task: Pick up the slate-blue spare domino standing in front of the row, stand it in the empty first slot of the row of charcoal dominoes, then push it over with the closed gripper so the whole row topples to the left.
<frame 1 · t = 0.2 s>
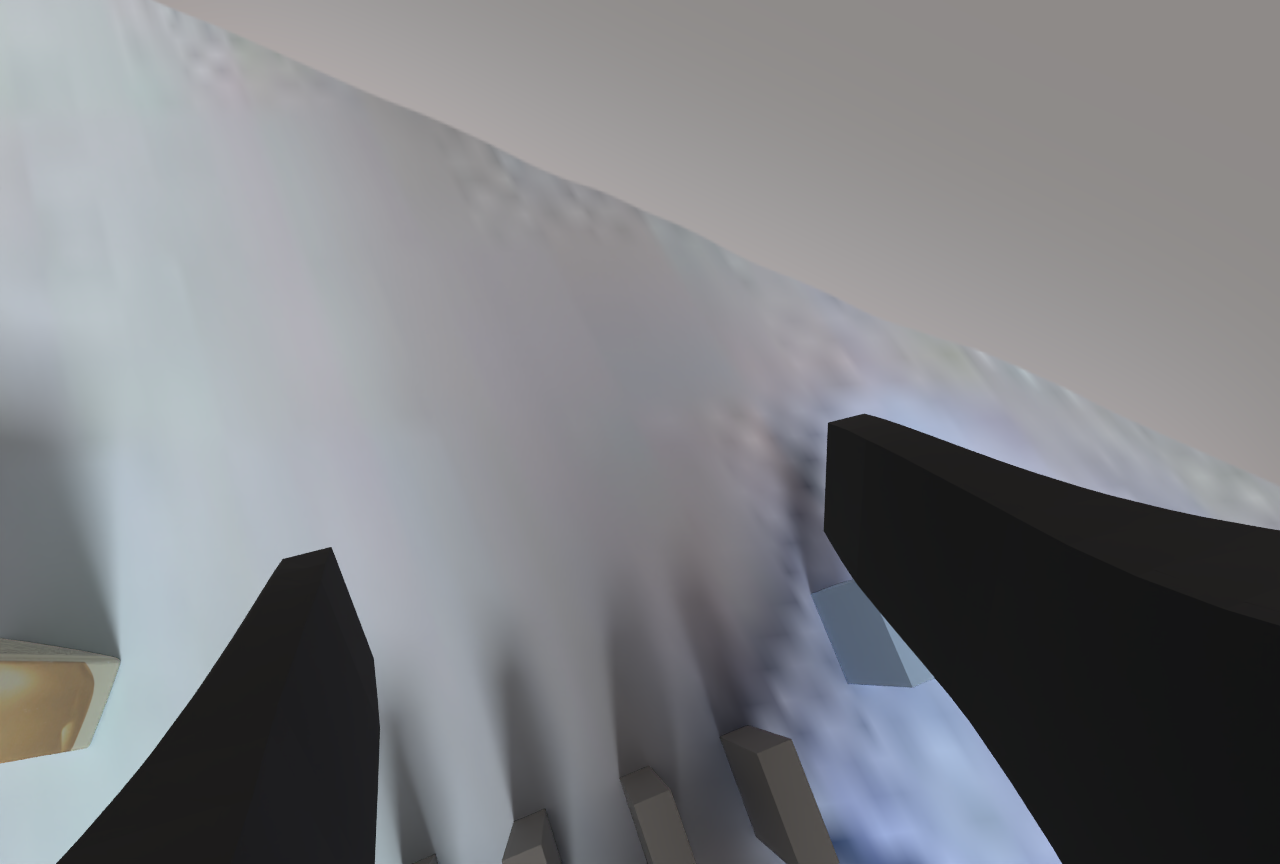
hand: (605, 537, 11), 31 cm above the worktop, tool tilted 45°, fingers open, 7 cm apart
spare domino: (842, 633, 42), on the worktop
skincare box: (49, 692, 38), on the worktop
domino 2: (751, 779, 39), on the worktop
domino 3: (651, 822, 38), on the worktop
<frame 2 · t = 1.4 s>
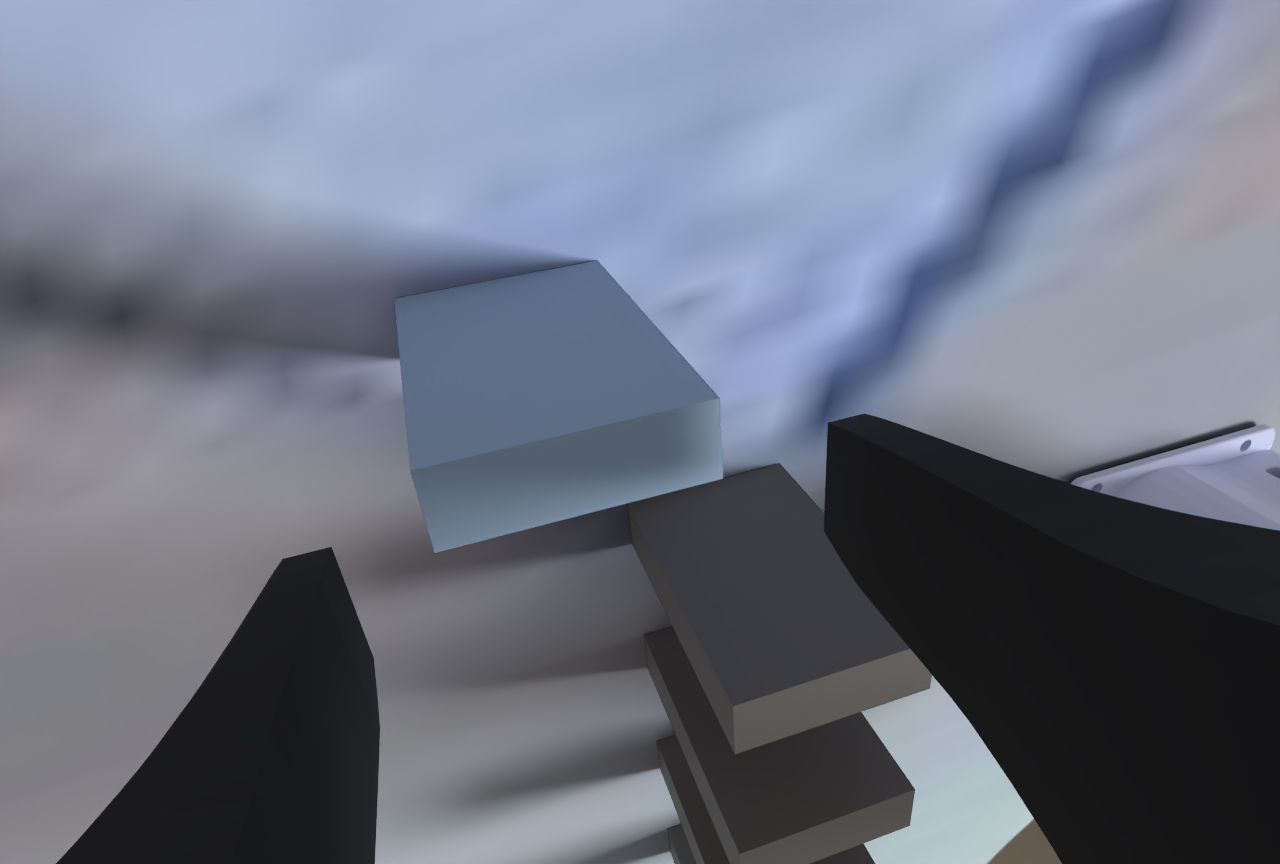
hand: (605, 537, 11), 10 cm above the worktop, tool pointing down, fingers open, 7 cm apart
spare domino: (504, 309, 19), on the worktop
domino 2: (706, 503, 24), on the worktop
domino 3: (713, 631, 27), on the worktop
domino 4: (719, 734, 30), on the worktop
domino 5: (724, 820, 32), on the worktop
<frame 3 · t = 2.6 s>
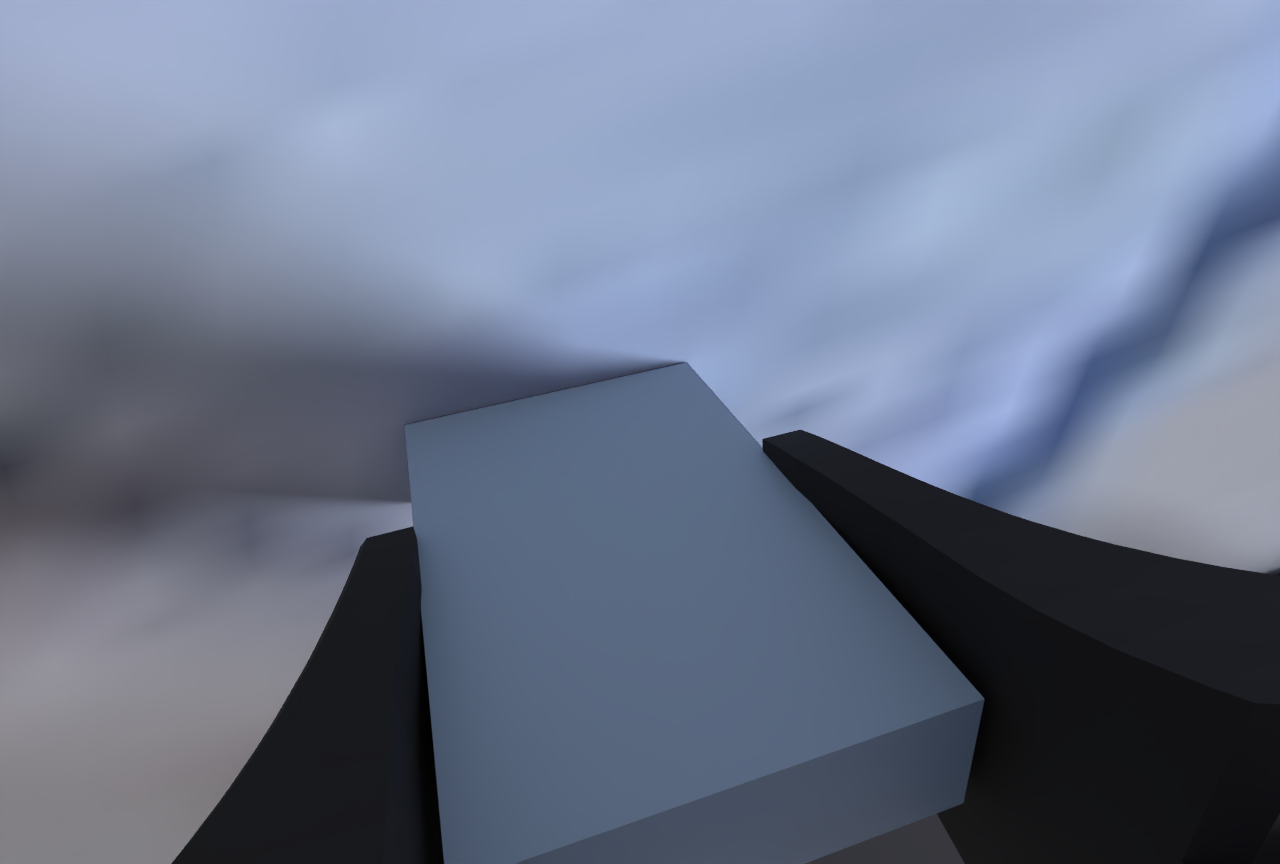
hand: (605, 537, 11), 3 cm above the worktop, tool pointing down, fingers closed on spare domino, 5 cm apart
spare domino: (557, 432, 14), on the worktop, touching gripper
domino 2: (804, 650, 19), on the worktop
when the fingers open (4 cm above the worktop, at t = 5.7 s): spare domino stays where it is, on the worktop.
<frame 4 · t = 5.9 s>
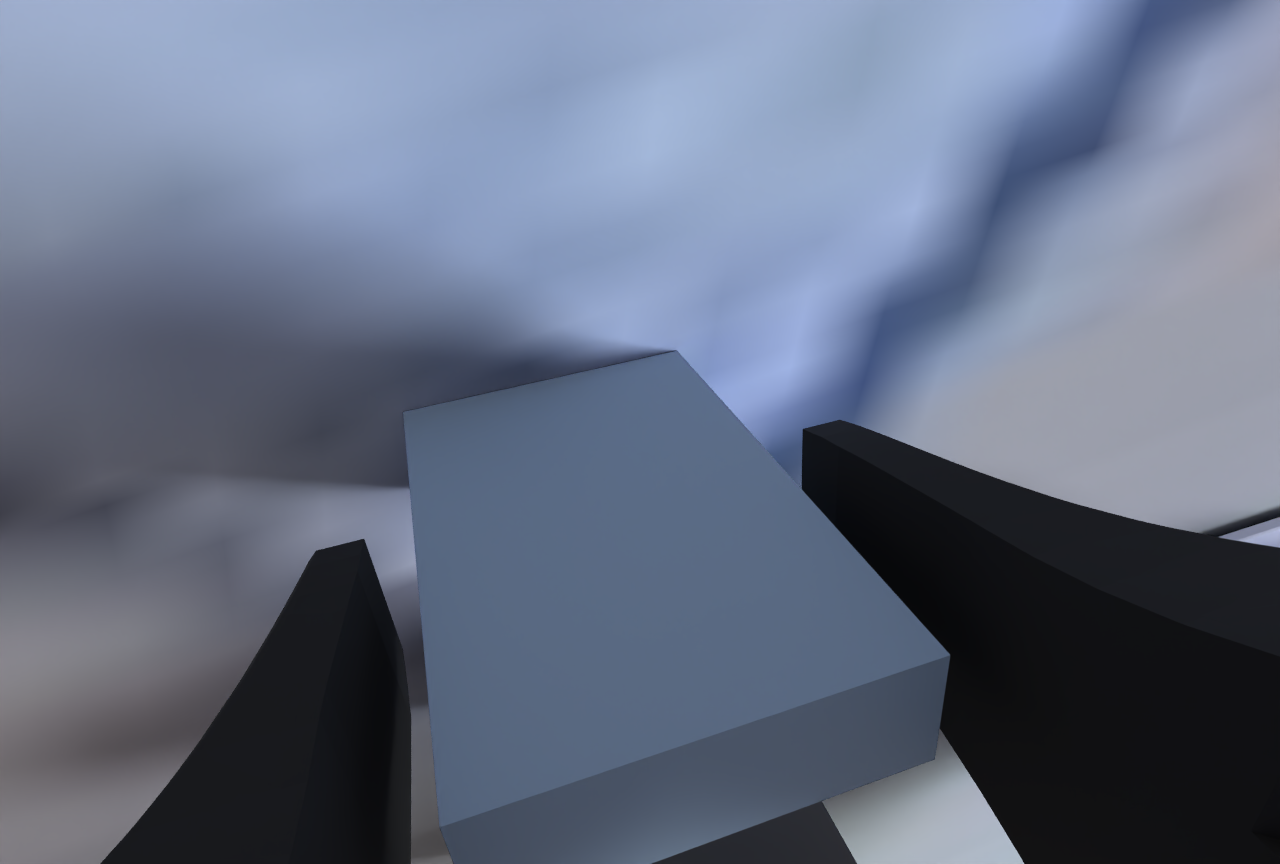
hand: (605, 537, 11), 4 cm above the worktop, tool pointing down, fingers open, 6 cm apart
spare domino: (552, 418, 14), on the worktop
domino 2: (589, 634, 17), on the worktop
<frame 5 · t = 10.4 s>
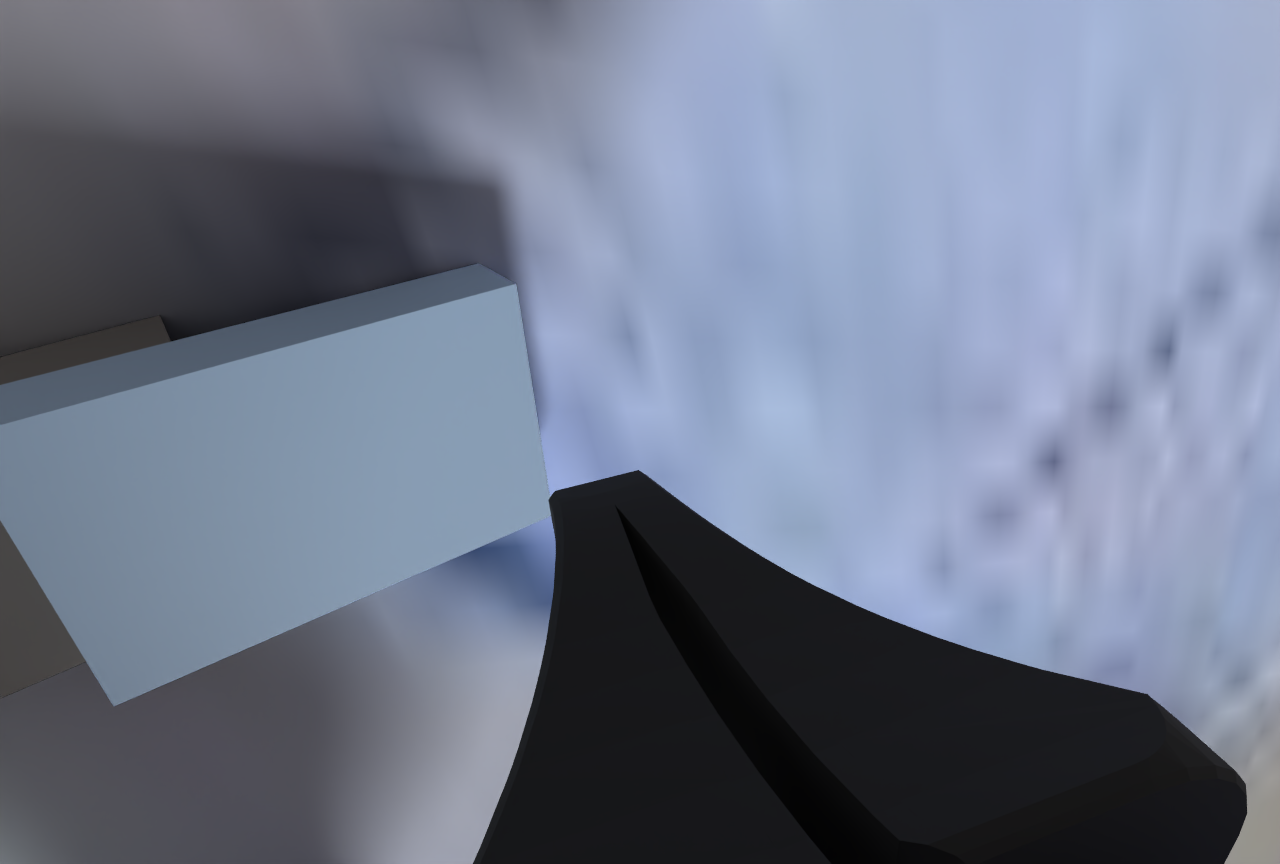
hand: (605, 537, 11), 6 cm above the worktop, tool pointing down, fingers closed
spare domino: (517, 394, 15), point 1 cm above the worktop, tilted 73°, touching domino 2
domino 2: (220, 454, 14), point 1 cm above the worktop, tilted 73°, touching domino 3, spare domino
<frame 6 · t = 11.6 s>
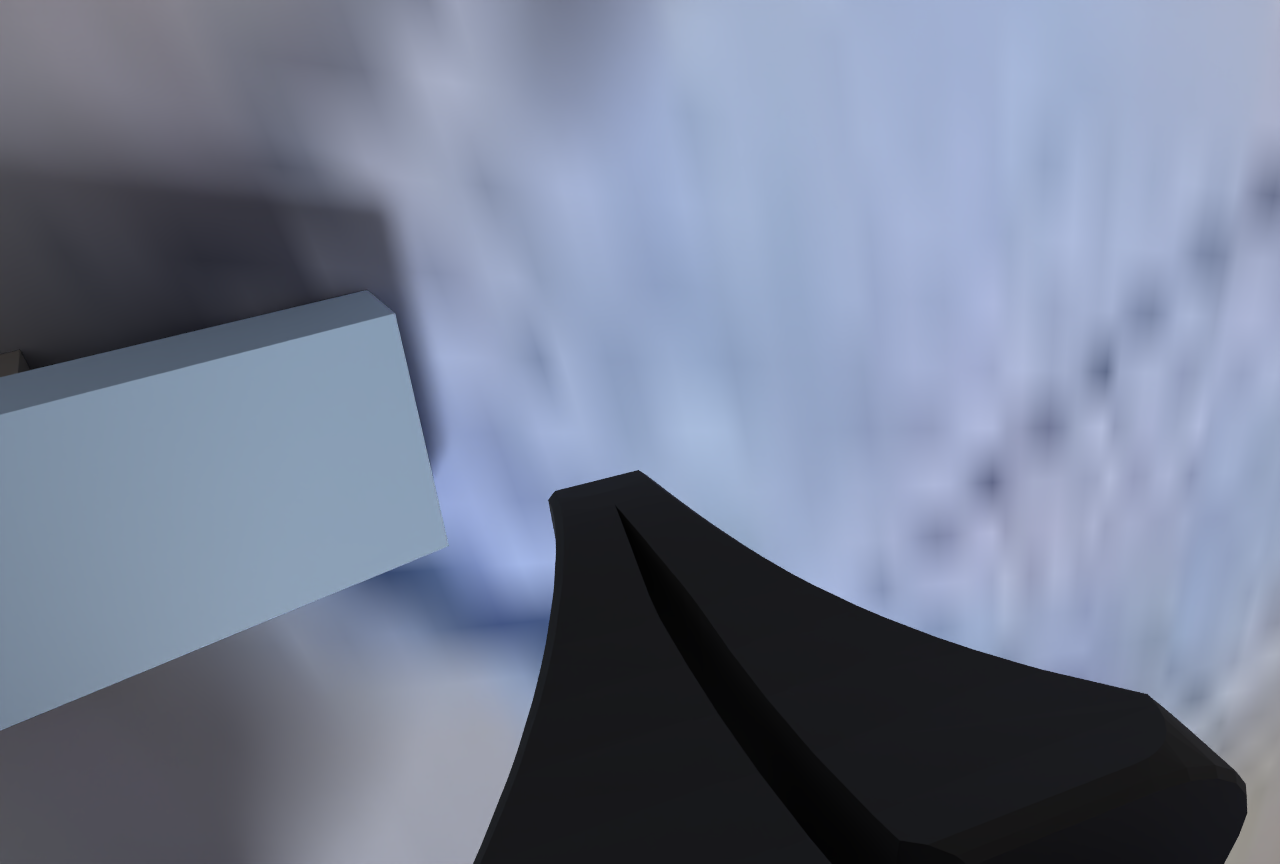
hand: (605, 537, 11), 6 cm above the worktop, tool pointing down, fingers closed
spare domino: (409, 423, 15), point 1 cm above the worktop, tilted 74°, touching domino 2
domino 2: (85, 491, 14), point 1 cm above the worktop, tilted 73°, touching domino 3, spare domino
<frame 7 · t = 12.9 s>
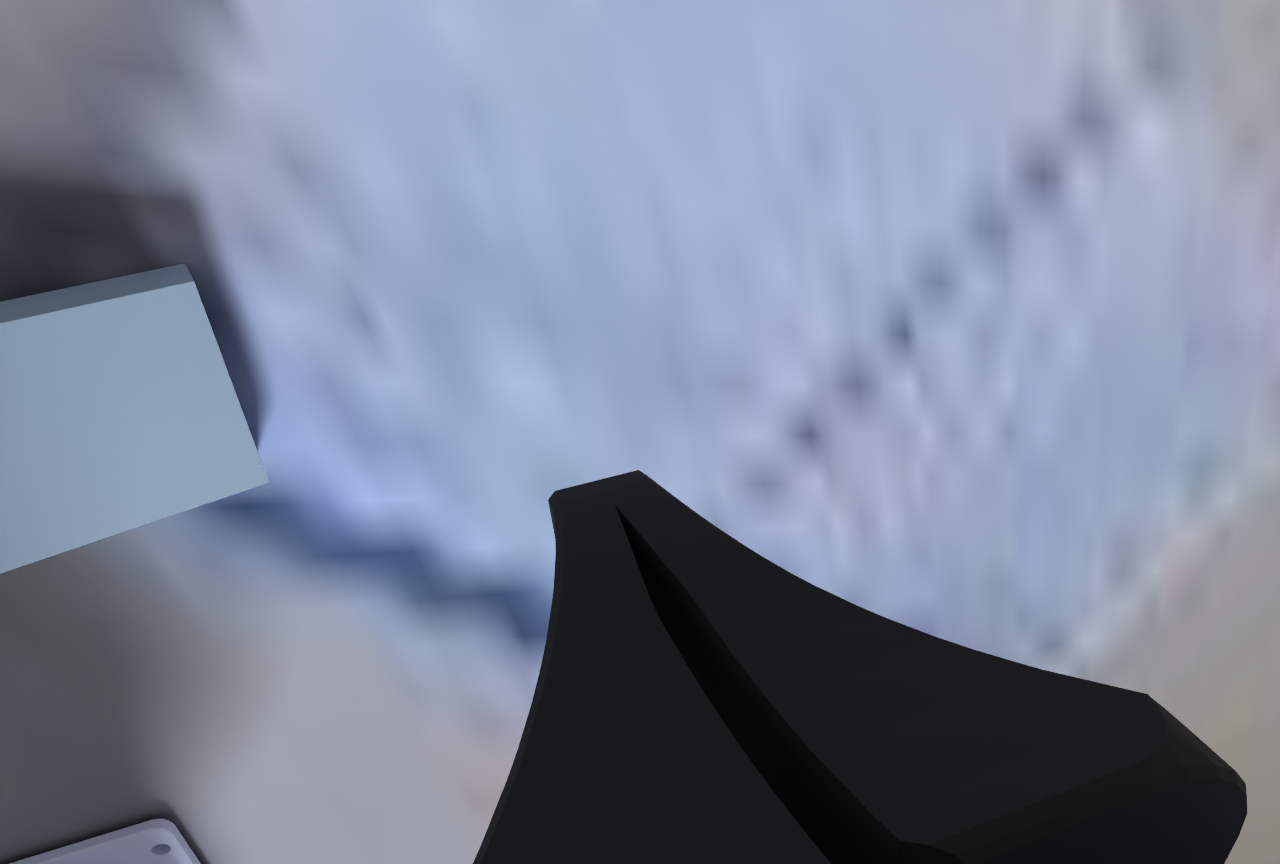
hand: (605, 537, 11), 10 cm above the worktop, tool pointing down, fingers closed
spare domino: (228, 376, 18), point 1 cm above the worktop, tilted 74°, touching domino 2
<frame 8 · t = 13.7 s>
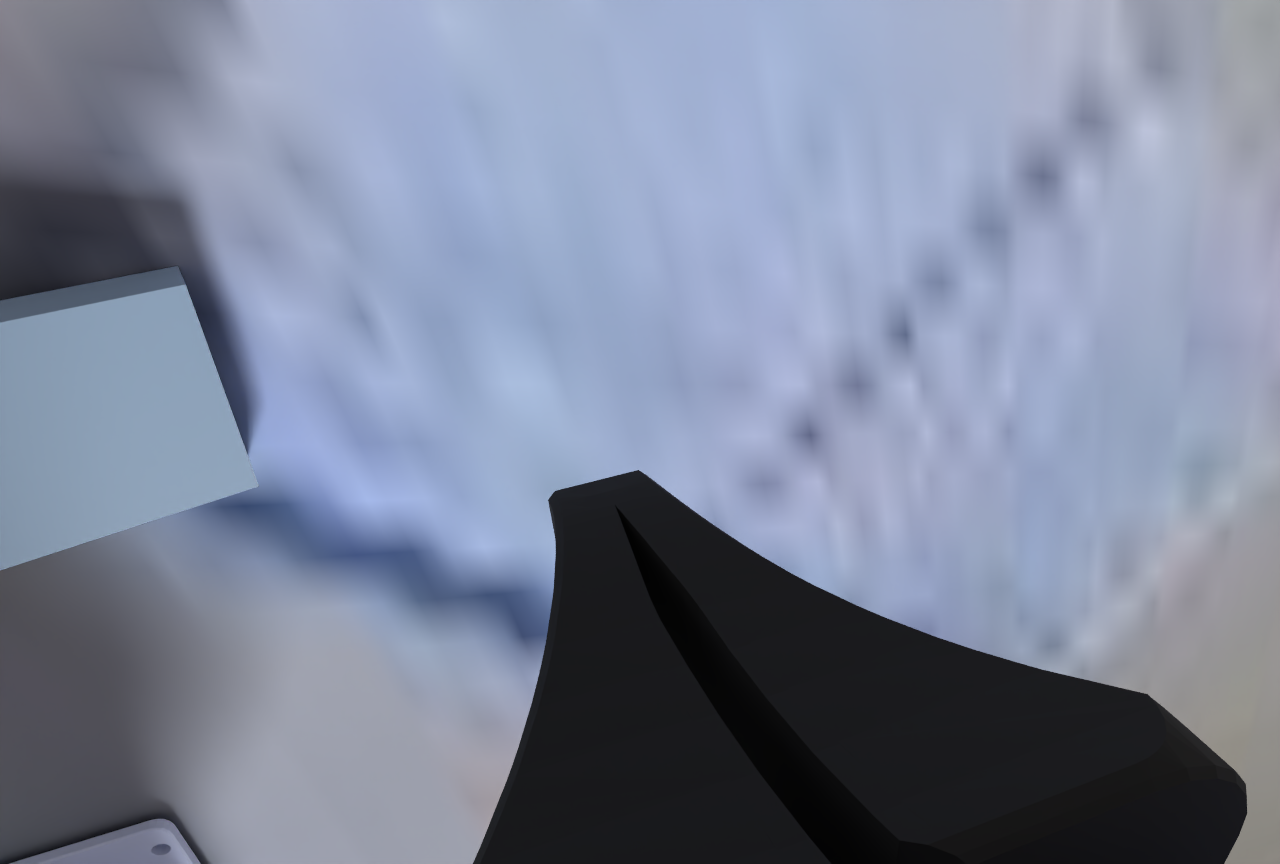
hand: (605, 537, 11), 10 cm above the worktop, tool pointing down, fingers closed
spare domino: (219, 380, 18), point 1 cm above the worktop, tilted 74°, touching domino 2
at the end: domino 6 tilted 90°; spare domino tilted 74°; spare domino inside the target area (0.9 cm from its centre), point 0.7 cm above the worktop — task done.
